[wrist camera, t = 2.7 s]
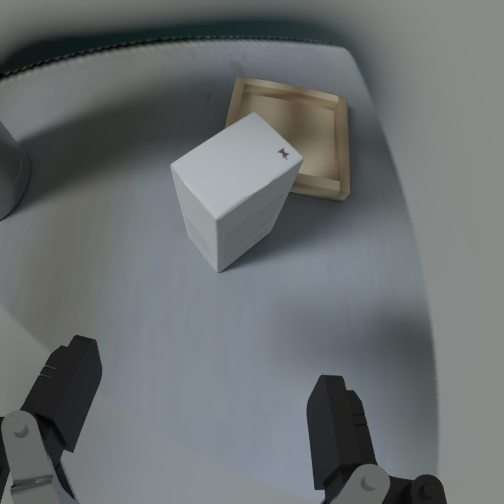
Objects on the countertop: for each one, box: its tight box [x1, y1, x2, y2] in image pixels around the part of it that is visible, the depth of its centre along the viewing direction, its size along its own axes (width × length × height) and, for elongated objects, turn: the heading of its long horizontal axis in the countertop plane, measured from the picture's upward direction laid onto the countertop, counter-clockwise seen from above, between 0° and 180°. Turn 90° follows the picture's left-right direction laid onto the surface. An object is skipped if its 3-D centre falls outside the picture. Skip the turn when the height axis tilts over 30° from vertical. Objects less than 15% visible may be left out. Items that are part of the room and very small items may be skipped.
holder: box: [224, 76, 350, 202], centre depth 30 cm, size 12×12×2 cm
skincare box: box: [170, 112, 304, 273], centre depth 22 cm, size 6×4×12 cm
